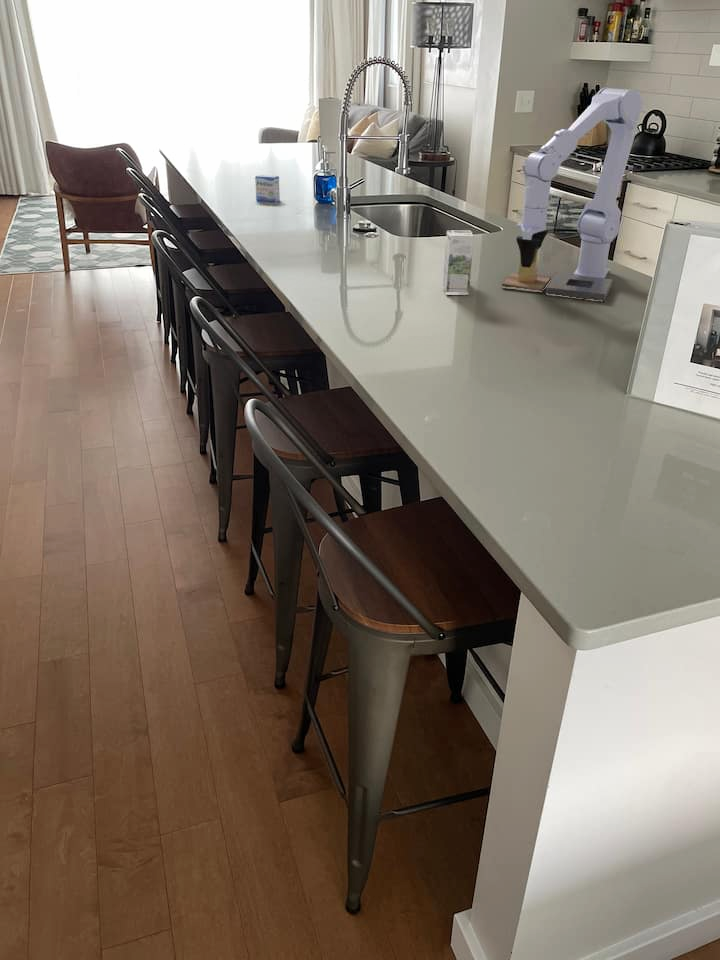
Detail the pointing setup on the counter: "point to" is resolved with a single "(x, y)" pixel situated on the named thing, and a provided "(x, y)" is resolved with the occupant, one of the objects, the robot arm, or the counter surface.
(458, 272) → the syrup box
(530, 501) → the counter surface
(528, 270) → the brass peg
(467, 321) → the counter surface
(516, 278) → the walnut board
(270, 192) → the medicine box
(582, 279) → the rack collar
